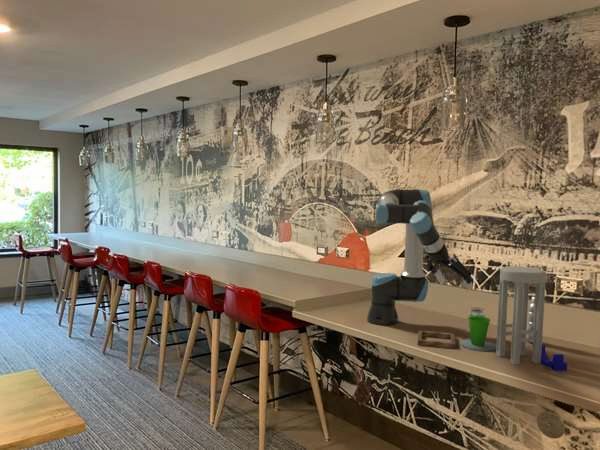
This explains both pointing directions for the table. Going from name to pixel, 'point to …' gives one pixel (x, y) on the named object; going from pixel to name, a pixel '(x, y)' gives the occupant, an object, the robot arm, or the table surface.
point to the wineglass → (477, 312)
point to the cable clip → (553, 361)
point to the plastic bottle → (531, 317)
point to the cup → (478, 329)
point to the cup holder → (436, 343)
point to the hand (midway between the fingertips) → (456, 285)
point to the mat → (486, 347)
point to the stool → (521, 311)
